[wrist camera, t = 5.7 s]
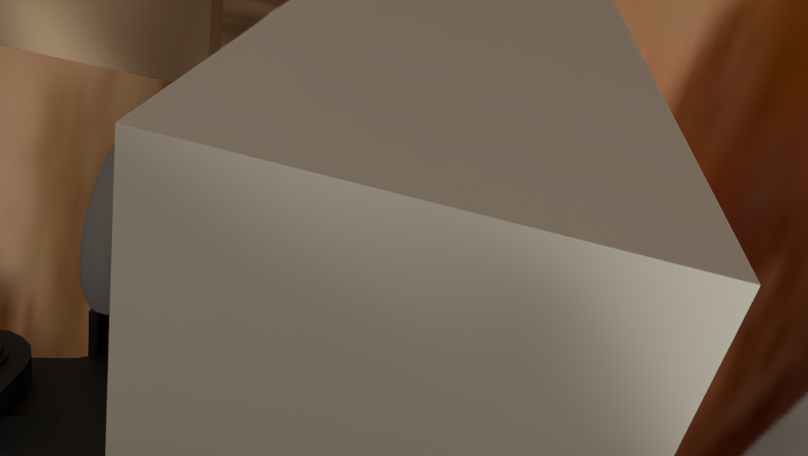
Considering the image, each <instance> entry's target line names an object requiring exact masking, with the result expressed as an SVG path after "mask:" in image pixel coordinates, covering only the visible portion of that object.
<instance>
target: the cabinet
mask: <svg viewBox="0 0 808 456" xmlns="http://www.w3.org/2000/svg"><path fill="white" fill-rule="evenodd" d="M289 1H290V0H0V45H2V46H6V47H11V48H16V49H20V50H25V51H30V52H34V53H39V54H43V55H48V56H53V57H57V58H62V59H67V60H71V61H76V62H81V63H85V64H90V65H95V66H99V67H104V68H109V69H113V70H118V71H123V72H127V73H132V74H137V75H141V76H146V77H151V78H155V79H160V80H165V81H169V82H174V81H176V80H177V79H178V78H180V77H181V76H183V75H184V74H186V73H187V72H188V71H190V70H191V69H193V68H194V67H196V66H197V65H198V64H200V63H201V62H203V61H204V60H206V59H207V58H208V57H210V56H211V55H213V54H214V53H216V52H217V51H218V50H220V49H221V48H223V47H224V46H226V45H227V44H229V43H230V42H231V41H233V40H234V39H236V38H237V37H239V36H240V35H241V34H243V33H244V32H246V31H247V30H249V29H250V28H251V27H253V26H254V25H256V24H257V23H259V22H260V21H261V20H263V19H264V18H266V17H267V16H269V15H270V14H271V13H273V12H274V11H276V10H277V9H279V8H280V7H281V6H283V5H284V4H286V3H287V2H289Z"/></svg>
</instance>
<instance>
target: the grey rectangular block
mask: <svg viewBox="0 0 808 456" xmlns="http://www.w3.org/2000/svg"><path fill="white" fill-rule="evenodd" d="M80 278H81V286H82V290H83V294H84V297H85V299H86V301H87V303H88V305H89V306H90V307H91V308H92V309H93V310H94V311H96V312H99V313H102V314H106V315H110V318H109V351H108V384H107V417H106V450H105V456H674V454H675V453H676V451H677V449H678V447H679V445H680V443H681V441H682V439H683V437H684V435H685V433H686V431H687V429H688V427H689V425H690V423H691V421H692V419H693V417H694V415H695V413H696V411H697V409H698V407H699V405H700V403H701V401H702V399H703V398H704V396H705V394H706V392H707V390H708V388H709V386H710V384H711V382H712V380H713V378H714V376H715V374H716V372H717V370H718V368H719V366H720V364H721V362H722V360H723V358H724V356H725V354H726V352H727V350H728V348H729V346H730V344H731V342H732V341H733V339H734V337H735V335H736V333H737V331H738V329H739V327H740V325H741V323H742V321H743V319H744V317H745V315H746V313H747V311H748V309H749V307H750V305H751V303H752V301H753V299H754V297H755V295H756V293H757V291H758V289H759V287H760V286H761V285H760V283H759V281H758V279H757V277H756V275H755V273H754V271H753V269H752V268H751V266H750V264H749V262H748V260H747V258H746V256H745V254H744V252H743V250H742V248H741V246H740V244H739V242H738V240H737V238H736V237H735V235H734V233H733V231H732V229H731V227H730V225H729V223H728V221H727V219H726V217H725V215H724V213H723V211H722V209H721V208H720V206H719V204H718V202H717V200H716V198H715V196H714V194H713V192H712V190H711V188H710V186H709V184H708V182H707V180H706V178H705V177H704V175H703V173H702V171H701V169H700V167H699V165H698V163H697V161H696V159H695V157H694V155H693V153H692V151H691V149H690V148H689V146H688V144H687V142H686V140H685V138H684V136H683V134H682V132H681V130H680V128H679V126H678V124H677V122H676V120H675V119H674V117H673V115H672V113H671V111H670V109H669V107H668V105H667V103H666V101H665V99H664V97H663V95H662V93H661V91H660V89H659V88H658V86H657V84H656V82H655V80H654V78H653V76H652V74H651V72H650V70H649V68H648V66H647V64H646V62H645V60H644V59H643V57H642V55H641V53H640V51H639V49H638V47H637V45H636V43H635V41H634V39H633V37H632V35H631V33H630V31H629V30H628V28H627V26H626V24H625V22H624V20H623V18H622V16H621V14H620V12H619V10H618V8H617V6H616V4H615V2H614V0H290V1H289V2H287V3H286V4H284V5H283V6H281V7H280V8H279V9H277V10H276V11H274V12H273V13H271V14H270V15H269V16H267V17H266V18H264V19H263V20H261V21H260V22H259V23H257V24H256V25H254V26H253V27H251V28H250V29H249V30H247V31H246V32H244V33H243V34H241V35H240V36H239V37H237V38H236V39H234V40H233V41H231V42H230V43H229V44H227V45H226V46H224V47H223V48H221V49H220V50H218V51H217V52H216V53H214V54H213V55H211V56H210V57H208V58H207V59H206V60H204V61H203V62H201V63H200V64H198V65H197V66H196V67H194V68H193V69H191V70H190V71H188V72H187V73H186V74H184V75H183V76H181V77H180V78H178V79H177V80H176V81H174V82H173V83H171V84H170V85H168V86H167V87H166V88H164V89H163V90H161V91H160V92H158V93H157V94H156V95H154V96H153V97H151V98H150V99H148V100H147V101H146V102H144V103H143V104H141V105H140V106H138V107H137V108H136V109H134V110H133V111H131V112H130V113H128V114H127V115H126V116H124V117H123V118H121V119H120V120H118V121H117V122H116V123H115V144H114V146H113V147H112V149H111V151H110V152H109V154H108V156H107V158H106V160H105V162H104V164H103V167H102V169H101V171H100V174H99V176H98V178H97V181H96V184H95V187H94V189H93V192H92V196H91V199H90V202H89V206H88V209H87V214H86V218H85V222H84V228H83V233H82V241H81V249H80Z"/></svg>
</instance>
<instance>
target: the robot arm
mask: <svg viewBox="0 0 808 456" xmlns="http://www.w3.org/2000/svg"><path fill="white" fill-rule="evenodd" d="M109 318H110V315H106V314H102V313H99V312H96V311H94V310H93V309H92V308H91V310H90V311H89V346H88V356H86V357H81V358H32V357H31V346H30V345H29V343H28V342H27V341H26V340H25V339H24V338H23V337H22V336H20V335H17V334H15V333H13V332H11V331H6V330H0V456H105V450H106V417H107V384H108V351H109Z"/></svg>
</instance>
